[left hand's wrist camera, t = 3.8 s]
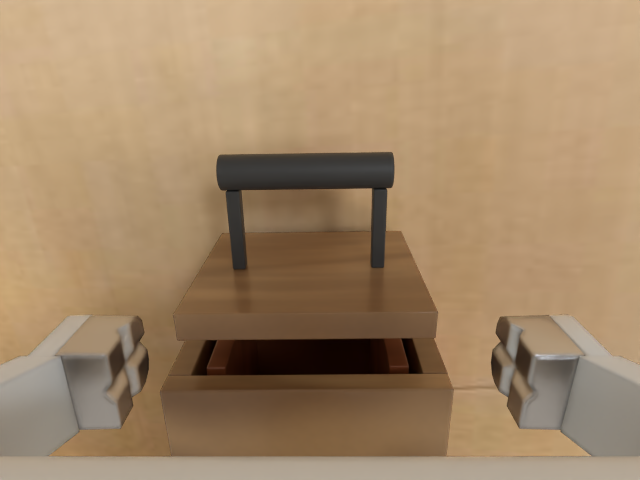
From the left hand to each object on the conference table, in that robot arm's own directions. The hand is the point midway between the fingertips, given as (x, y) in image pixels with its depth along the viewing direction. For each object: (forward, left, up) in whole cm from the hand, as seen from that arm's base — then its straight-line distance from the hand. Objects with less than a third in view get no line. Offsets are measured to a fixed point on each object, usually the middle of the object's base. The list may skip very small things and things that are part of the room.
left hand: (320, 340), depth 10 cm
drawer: (-8, +6, -15) cm, 18 cm away
